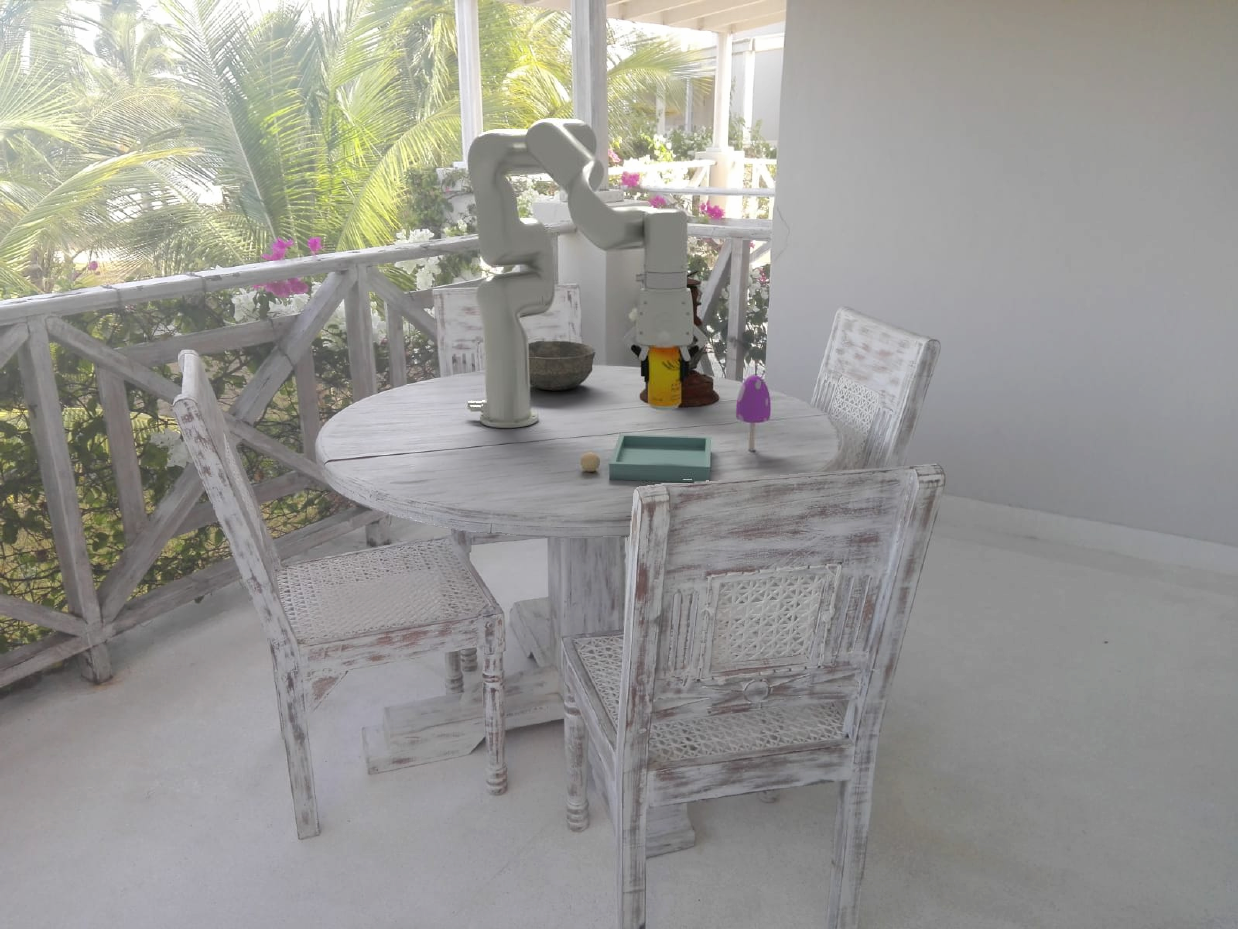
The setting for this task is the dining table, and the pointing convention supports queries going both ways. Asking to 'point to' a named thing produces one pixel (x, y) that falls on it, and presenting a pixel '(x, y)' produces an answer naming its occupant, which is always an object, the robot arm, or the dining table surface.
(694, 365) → the lantern
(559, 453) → the dining table surface
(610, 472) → the tray
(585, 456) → the cork ball
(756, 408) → the toy
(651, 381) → the beer can
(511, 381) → the robot arm
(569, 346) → the bowl
